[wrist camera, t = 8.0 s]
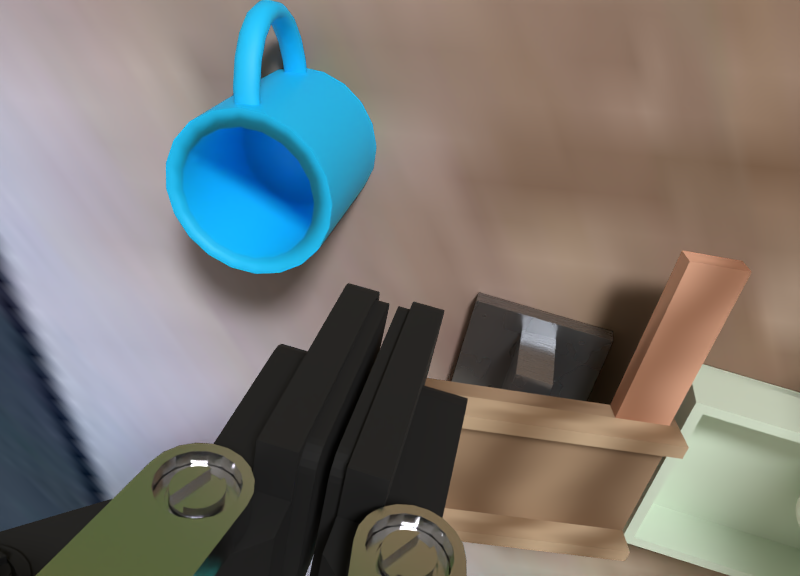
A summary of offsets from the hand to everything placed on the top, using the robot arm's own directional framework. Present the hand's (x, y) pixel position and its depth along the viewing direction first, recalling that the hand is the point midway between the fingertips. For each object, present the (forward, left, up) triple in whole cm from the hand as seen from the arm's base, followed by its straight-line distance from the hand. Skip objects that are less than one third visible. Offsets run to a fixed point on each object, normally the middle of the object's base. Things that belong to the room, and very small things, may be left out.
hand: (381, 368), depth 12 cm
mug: (+10, +6, -28) cm, 30 cm away
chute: (-6, +15, -21) cm, 27 cm away
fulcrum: (-6, +20, -27) cm, 34 cm away
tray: (-21, +20, -27) cm, 40 cm away
